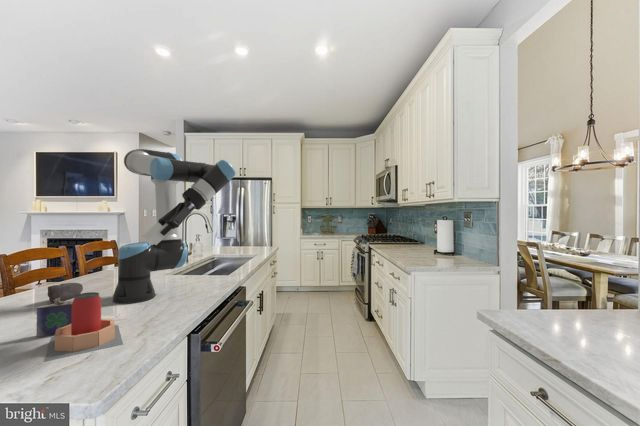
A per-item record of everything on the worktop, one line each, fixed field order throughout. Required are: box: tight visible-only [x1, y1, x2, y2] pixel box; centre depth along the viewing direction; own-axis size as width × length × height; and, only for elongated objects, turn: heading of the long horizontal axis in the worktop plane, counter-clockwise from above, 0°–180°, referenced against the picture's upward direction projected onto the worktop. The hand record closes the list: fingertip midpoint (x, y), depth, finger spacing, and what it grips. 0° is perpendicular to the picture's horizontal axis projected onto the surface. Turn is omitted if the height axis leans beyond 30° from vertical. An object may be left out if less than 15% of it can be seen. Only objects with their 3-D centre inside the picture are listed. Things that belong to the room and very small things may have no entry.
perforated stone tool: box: [47, 282, 84, 303], centre depth 127 cm, size 15×5×7 cm, turn 170°
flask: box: [35, 298, 73, 338], centre depth 90 cm, size 9×3×11 cm, turn 121°
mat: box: [43, 324, 124, 363], centre depth 85 cm, size 18×16×1 cm
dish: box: [54, 318, 116, 352], centre depth 85 cm, size 13×13×4 cm
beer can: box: [71, 291, 102, 335], centre depth 85 cm, size 7×7×12 cm
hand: (148, 240), depth 96 cm, fingers open, 13 cm apart
